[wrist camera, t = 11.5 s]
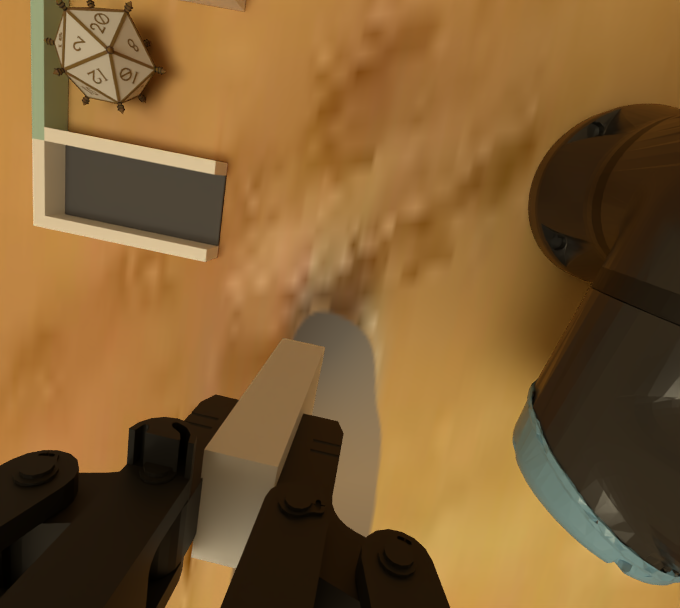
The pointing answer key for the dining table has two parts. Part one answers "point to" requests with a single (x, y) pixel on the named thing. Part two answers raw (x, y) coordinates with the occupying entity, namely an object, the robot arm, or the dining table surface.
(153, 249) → the trap box
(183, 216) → the pads
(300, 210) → the dining table surface
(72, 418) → the dining table surface
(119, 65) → the game die
